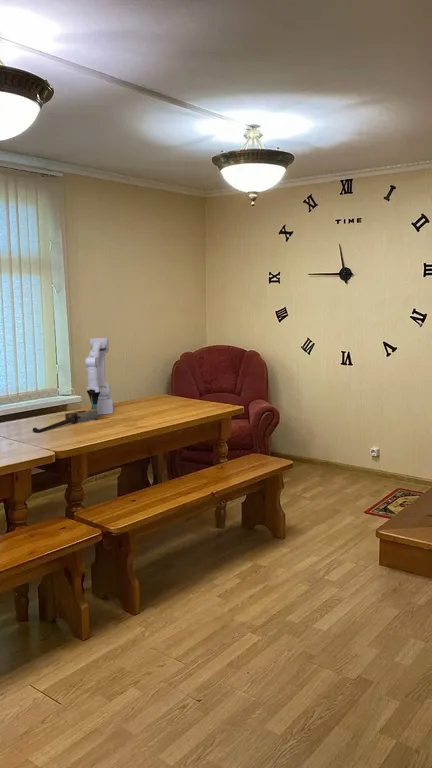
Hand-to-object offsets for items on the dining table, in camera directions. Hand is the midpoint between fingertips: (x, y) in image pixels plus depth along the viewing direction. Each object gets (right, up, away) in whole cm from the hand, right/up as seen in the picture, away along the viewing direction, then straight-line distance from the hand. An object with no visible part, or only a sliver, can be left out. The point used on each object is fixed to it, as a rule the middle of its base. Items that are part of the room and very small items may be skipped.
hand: (94, 403), depth 341 cm
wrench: (-17, -12, -11) cm, 24 cm away
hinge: (-8, -10, +4) cm, 13 cm away
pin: (0, -3, 0) cm, 3 cm away
